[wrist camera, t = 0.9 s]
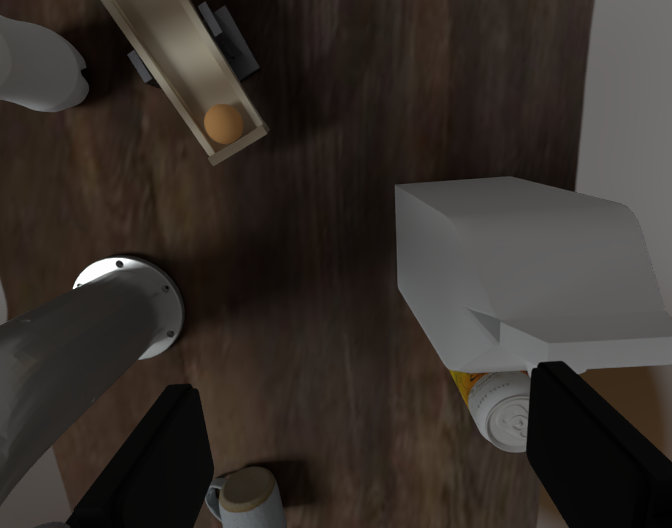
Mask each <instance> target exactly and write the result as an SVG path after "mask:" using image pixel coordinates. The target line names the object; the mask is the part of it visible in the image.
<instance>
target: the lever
mask: <svg viewBox="0 0 672 528" xmlns="http://www.w3.org/2000/svg"><path fill="white" fill-rule="evenodd" d="M101 2H102V3H103V4H104V6H105V7H106V9H107V10H108V12H109V13H110V14H111V16H112V17H113V19H114V20H115V22H116V23H117V24H118V26H119V27H120V29H121V30H122V32H123V33H124V35H125V36H126V37H127V39H128V40H129V42H130V43H131V45H132V46H133V47H134V49H135V50H136V52H137V53H138V55H139V56H140V58H141V59H142V60H143V62H144V63H145V65H146V66H147V68H148V69H149V70H150V72H151V73H152V75H153V76H154V78H155V79H156V80H157V82H158V83H159V85H160V86H161V88H162V89H163V91H164V92H165V93H166V95H167V96H168V98H169V99H170V101H171V102H172V103H173V105H174V106H175V108H176V109H177V111H178V112H179V114H180V115H181V116H182V118H183V119H184V121H185V122H186V124H187V125H188V126H189V128H190V129H191V131H192V132H193V134H194V135H195V136H196V138H197V139H198V141H199V142H200V144H201V145H202V147H203V148H204V149H205V151H206V152H207V154H208V155H209V158H208V160H209V161H210V163H211V164H212V165H213V166H215V165H216V164H218V163H220V162H221V161H223V160H225V159H226V158H228V157H230V156H231V155H233V154H235V153H236V152H238V151H240V150H241V149H243V148H245V147H246V146H248V145H250V144H251V143H253V142H255V141H256V140H258V139H260V138H261V137H263V136H265V135H266V134H267V133H268V132H269V130H270V129H269V127H268V126H267V124H266V122H263V120H262V118H261V117H260V115H259V113H258V112H257V110H256V108H255V107H254V105H253V103H252V102H251V100H250V98H249V97H248V95H247V93H246V92H245V90H244V88H243V87H242V85H241V83H240V82H239V80H238V78H237V77H236V75H235V73H234V72H233V70H232V69H231V67H230V65H229V64H228V62H227V60H226V59H225V57H224V55H223V54H222V52H221V50H220V49H219V47H218V45H217V44H216V42H215V40H214V39H213V37H212V34H213V32H212V31H211V29H210V27H209V25H208V24H207V23H204V22H203V20H202V19H201V17H200V15H199V14H198V12H197V10H196V9H195V7H194V5H193V4H192V2H191V0H101ZM217 104H227V105H230V106H232V107H233V108H235V109H236V110H237V111H238V112H239V114H240V115H241V117H242V120H243V132H242V134H241V136H240V137H239V139H238V140H236V141H235V142H233V143H230V144H221V143H218V142H216V141H214V140H213V139H212V138H211V137H210V136H209V135H208V133H207V131H206V129H205V125H204V119H205V115H206V113H207V111H208V110H209V109H210V108H211V107H213V106H214V105H217Z"/></svg>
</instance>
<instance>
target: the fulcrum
mask: <svg viewBox="0 0 672 528" xmlns="http://www.w3.org/2000/svg"><path fill="white" fill-rule="evenodd" d="M198 8H199V9H200V11H201V13H202V15H203V17H204V18H205V19H204V20H203V22H204V23H207V24H208V25H209V27H210V29H211V31H212V32H213V34H212V37H213V39H214V40H215V42H216V44H217V45H218V47H219V49H220V50H221V52H222V54H223V55H224V57H225V59H226V60H227V62H228V64H229V65H230V67H231V69H232V70H233V72H234V73H235V75H236V77H237V78H238V80H239V82H241V81H242V80H244V79H246V78H247V77H249V76H250V75H252V74H254V73H255V72H257V71H258V70H260V69H261V68H260V67H259V65H258V63H257V61H256V59H255V58H254V56H253V54H252V52H251V50H250V48H249V47H248V45H247V43H246V41H245V39H244V38H243V36H242V34H241V32H240V30H239V28H238V27H237V25H236V23H235V21H234V19H233V18H232V16H231V14H230V12H229V10H228V8H227V7H226V6H223V7H222V8H220V9H219V10H217V11H216V12H214V11H213V10H212V8H211V7H210V6H209V5H208V4H207V3H206V2H204V3H202V4H201V5H199V6H198ZM127 55H128V57H129V58H130V60H131V62H132V63H133V65H134V66H135V68H136V69H137V71H138V73H139V74H140V76H141V77H142V79H143V81H144V82H145V83H146V84H149V85H152V86H154V87H157V88H160V89H162V88H161V86H160V85H159V83H158V82H157V80H156V79H155V78H154V76H153V75H152V73H151V72H150V70H149V69H148V68H147V66H146V65H145V63H144V62H143V60H142V59H141V58H140V56H139V55H138V53H137V52H136V51H135V50H133V51H132V52H130V53H129V54H127Z"/></svg>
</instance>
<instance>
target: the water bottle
mask: <svg viewBox="0 0 672 528" xmlns="http://www.w3.org/2000/svg"><path fill="white" fill-rule="evenodd" d="M84 68H87V67H86V63H85V61H84V59H83V57H82V56H81V54H80V53H79V52H78V51H77V50H76V48H75V47H74V46H73V45H72V44H71V43H69V42H68V41H67V40H66V39H64V38H63V37H62V36H60V35H59V34H57V33H55V32H53V31H51V30H49V29H47V28H44V27H42V26H39V25H36V24H33V23H28V22H21V21H16V20H12V19H9V18H6V17H3V16H0V99H1V100H6V101H10V102H14V103H17V104H20V105H23V106H25V107H28V108H30V109H33V110H37V111H44V112H58V111H61V110H64V109H66V108H70V107H73V106H76V105H78V104H80V103H81V102H82V101H83V100H84V99H85V98H86V96H87V94H88V92H89V85H88V83H87V81H86V80H85V78H84V77H83V76H82V74H81V70H83V69H84Z"/></svg>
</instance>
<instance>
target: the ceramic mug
mask: <svg viewBox="0 0 672 528" xmlns="http://www.w3.org/2000/svg"><path fill="white" fill-rule="evenodd" d="M215 488H219V489H221V491H220V495H219V501H218V499H217V498H216V494H215ZM205 500H206V503H207V505H208V507H209V509H210V511H211V512H212V513H213V515H214V516H215V517H216V518H218V519H219V520H220V521H221V522H222V523H223V528H287V524H286V519H285V515H284V510H283V506H282V502H281V498H280V493H279V488H278V485H277V482H276V480H275V477H274V475H273V474H272V473H271V471H269V470H268V469H266V468H263V467H258V466H252V467H247V468H244V469H241V470H239V471H237V472H236V473H234V474H233V475H232V476H230V477H229V478H228V479H225V478H216V479H214V480H213V481H212V482H211V484H210V487H209V489H208V492H207V494H206V497H205Z"/></svg>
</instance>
